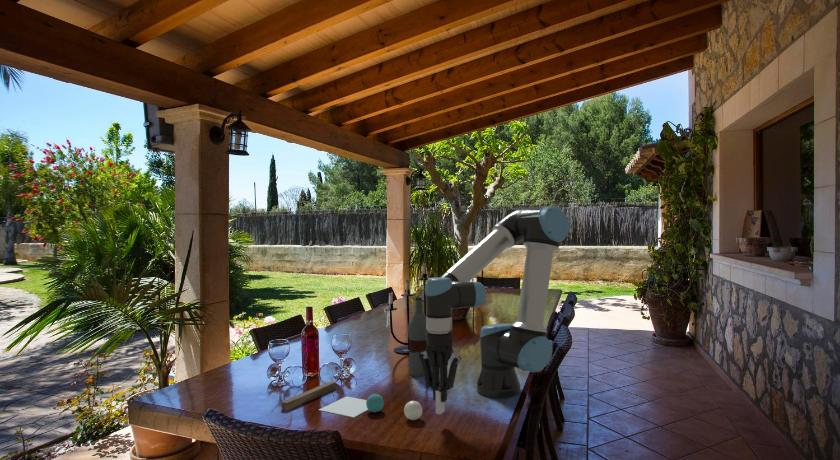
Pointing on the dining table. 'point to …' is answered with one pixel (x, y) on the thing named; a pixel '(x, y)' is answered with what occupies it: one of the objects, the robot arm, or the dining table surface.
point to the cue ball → (413, 410)
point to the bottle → (417, 339)
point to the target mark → (347, 407)
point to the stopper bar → (308, 395)
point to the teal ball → (374, 403)
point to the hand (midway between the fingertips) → (440, 412)
